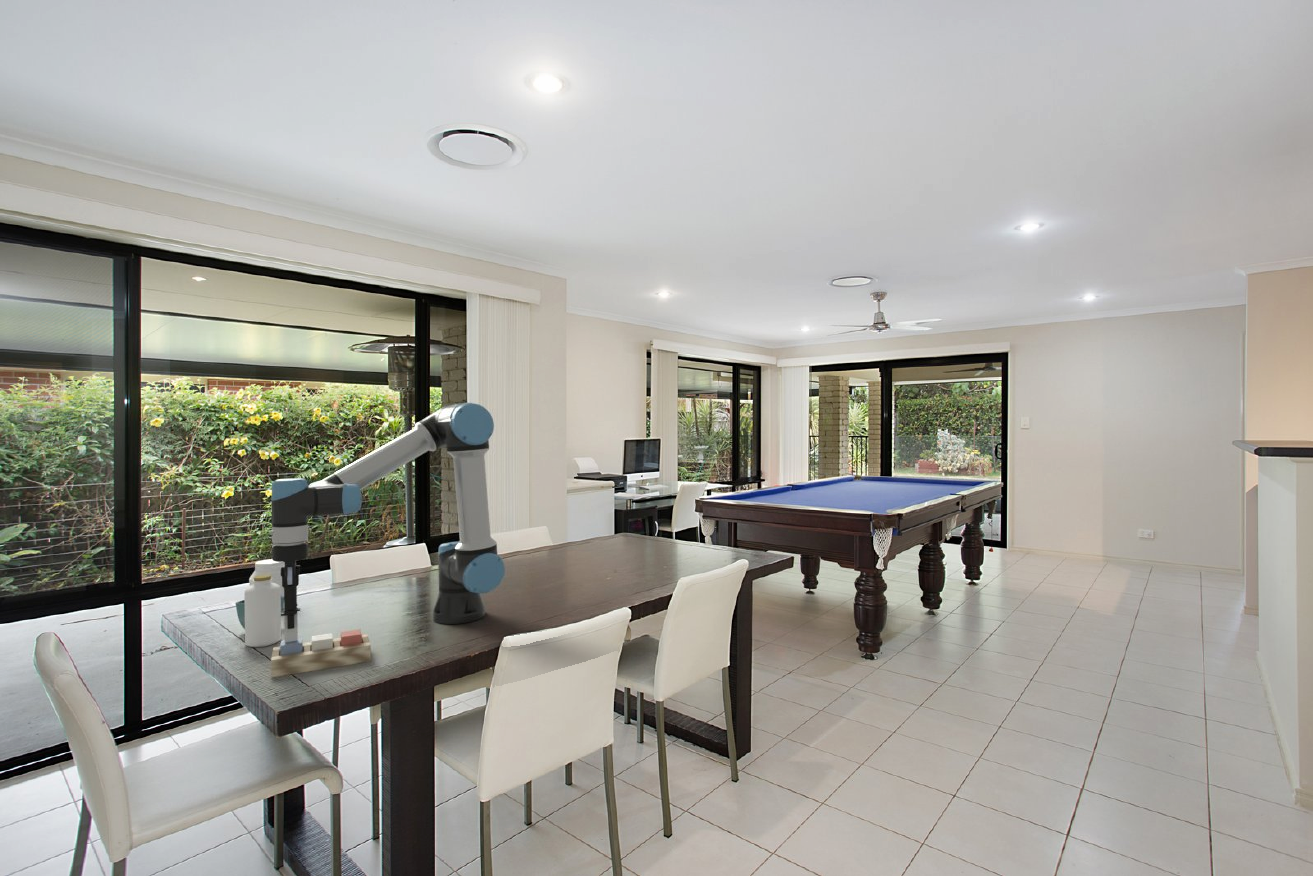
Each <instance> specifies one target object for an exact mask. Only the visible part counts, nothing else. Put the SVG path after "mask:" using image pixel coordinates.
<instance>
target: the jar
mask: <svg viewBox="0 0 1313 876" xmlns="http://www.w3.org/2000/svg"><path fill="white" fill-rule="evenodd" d="M281 567H285V562H276V561H273V560H272V558H271V559H270V558H269V559H263V560H258V561H256V562H255V563H254V571H253V572H252V574H250V577H249V579H248V582H249V587H250V586H251V585H253V584H254V583H253V580H254V577H255V576H259V575H271V578H272V581H271V582H272V583H275V584H278V585H279V586H280V589H281V596H284V587H282V577H281ZM283 610H284V605H283Z"/></svg>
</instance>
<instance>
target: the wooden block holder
mask: <svg viewBox="0 0 1313 876" xmlns="http://www.w3.org/2000/svg"><path fill="white" fill-rule="evenodd" d="M361 634H362V633H361ZM302 643H303V652H302V653H295V654H288V655H282V656H280V646H279V645H278V646H274V647H273V649H272V652H271V653H272V654H271V658H270V659H271V660H270V669H271V670H270V672H271V673H270V677H271V678H276V677H282V676H289V675H294V674H301V673H307V672H313V671H319V670H325V669H326V670H327V669H331V668H337V667H342V666H350V665H356V664H363V663H367V662H371V661H372V660H371V659H372V654H371V653H372V651H371V650H372V649H371V647H372V646H371V642H370V638H369V635H368V633H364V634H362V643H361V644H355V645H348V646H341V637H336V638H335V637H334V638H333V648H328V649H322V650H315V651H312V641H309V642H308V641H307V642H302Z"/></svg>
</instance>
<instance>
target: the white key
mask: <svg viewBox="0 0 1313 876" xmlns="http://www.w3.org/2000/svg"><path fill="white" fill-rule="evenodd" d="M333 639H334V638H333V633H332V632H331V633H324V634H323V633H322V634H317V635H312V636H311V642H312V651H315V650H322V649H328V648H333Z"/></svg>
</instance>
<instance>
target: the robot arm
mask: <svg viewBox="0 0 1313 876" xmlns="http://www.w3.org/2000/svg"><path fill="white" fill-rule="evenodd" d="M494 428H495V423H494V419H493V416H492V413H490V412H489V410H488V409H487V408H485V407H484V406H482V405H481V404H478V403H473V402H463V403H453V404H448V405H445V406H443V407H441V408H439V409H438V410H436V411H434V412H433V413H431V414H429V415H427V416H426V417H425V418H423V419H422V420H420V421H418V422H416V423H415V425H414V428H413V429H410V430H409V431H407V432H405V433H403V434H402V435H400V436H398V437H397V438H395V439H392V440H391V441H389V442H388V443H386V444H384V445H381V446H380V447H379V448H377V449H375V450H374V451H373V450H372V452H370V453H367V454H366V455H365V456H364V455H363V457H361V458H359V459H357V460H355V461H353V462H352V463H350V464H348V465H346V466H344V467H343V468H341V469H339V470H337V471H336V472H334V473H332V474H331V475H329V476H327V477H325V478H323V479H322V480H315V481H314V482H312V483H310V484H308V480H307V479H306V478H302V477H301V478H299V477H298V478H280V479H279V478H278V479H276V480H273V482H272V483H271V498H270V503H271V504H270V505H271V506H270V507H271V530H269V531H268V534H269V535H272V537H271V542H272V543H273V545H272V546H271V559H272V560H273V561H276V562H285V567H281V577H282V587H284V609H283V610H284V611H283V612H282V613H281V617H284V618H283V620H284V621H283V622H284V624H283V625H284V629H283V630H284V640H285V642H292V641H298V638H299V636H298V635H299V634H298V631H299V630H298V628H299V627H298V612H301V608H299V607H298V605H299V604H298V590H297V589H298V586H299V581H300V574H301V573H300V572H301V565H300V564H299V565H297V561H302V560H305V559H307V558H308V557H309V543H307V541H308V540H309V523H308V521H309V518H310V517H311V518H313V517H319V516H322V517H323V516H337V515H347V514H348V515H349V514H355V513H358V512H359V511H360V509H361V507H362V501H363V499H362V491H361V490H364V489H365V488H367V487H369V486H370V485H373V484H374V483H376V482H377V481H378V480H380V479H383V478H384V477H387V475H389V474H391V473H393V472H394V471H396V470H397V469H399V468H401V467H403V466H405V465H406V464H408V463H409V462H411V461H413V460H415V459H417V458H418V457H420V456H422V455H423V454H425V453H427V452H428V451H429V452H435V451H437V450H438V449H441V448H443V447H446V452H447V454H448V455H450V456H451V457H452V458H453V459H452V462H453V471H454V472H453V473H454V484H455V485H454V487H455V496H456V497H455V499H456V509H457V523H458V533H459V534H458V535H459V540H458V541H451V542H450V541H449V542H446V543H445V542H444V543H441V544H440V545H439V546H438V553H437V557H438V558H437V559H438V560H437V561H438V567H437V568H438V596H437V597H436V601H435V605H434V607H433V609H432V610H433V611H432V620H433V622H435V623H439V624H446V625H455V624H456V625H458V624H467V623H471V622H475V621H478V620H480V619H482V618H483V617H485V615H486V610H485V608H486V607H485V604H484V601H483V599H482V595H481V594H488V593H490V592H492V591H493V590H495V589H496V588H498V586H499V585H500V584H501V583H502V581H503V579H504V576H505V574H506V573H505V572H506V566H505V562H504V560H503V559H502V557H500V556H499V555H498V546H497V545H498V544H497V541H496V540H494V538H492V536H491V525H490V523H491V522H490V514H489V513H490V512H489V511H490V510H489V501H488V500H489V499H488V485H487V473H486V462H485V459H486V458H485V455H486V454H487V452H488V451H489V450H490V438H491V437H492V436H493V433H494Z"/></svg>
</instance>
